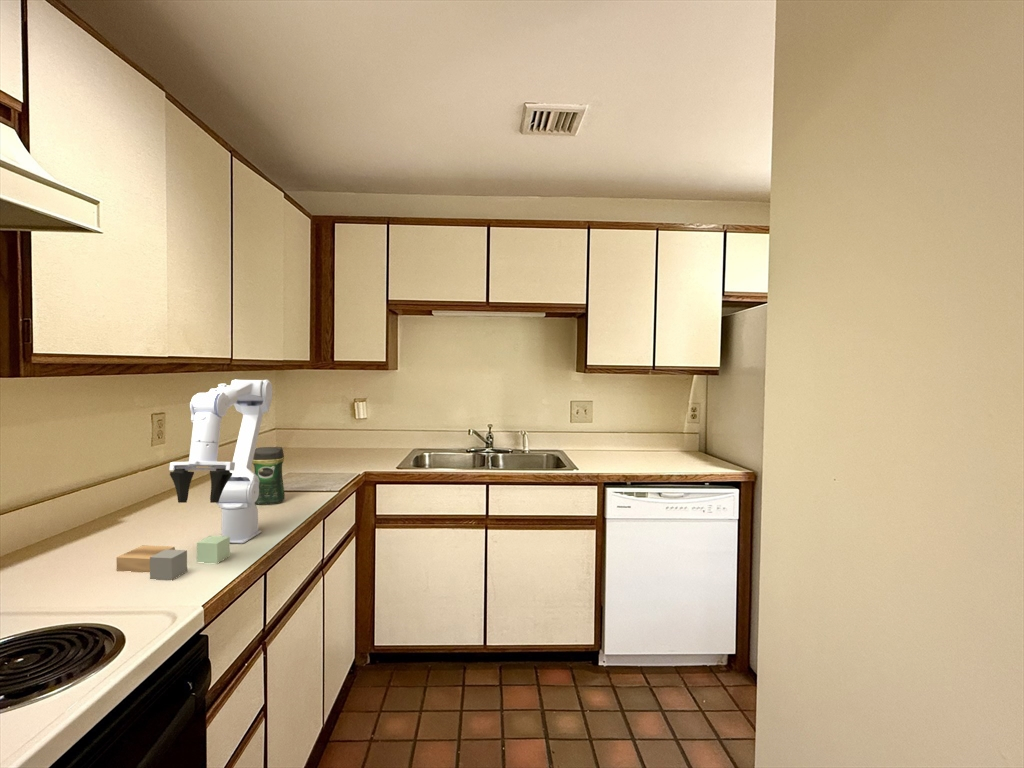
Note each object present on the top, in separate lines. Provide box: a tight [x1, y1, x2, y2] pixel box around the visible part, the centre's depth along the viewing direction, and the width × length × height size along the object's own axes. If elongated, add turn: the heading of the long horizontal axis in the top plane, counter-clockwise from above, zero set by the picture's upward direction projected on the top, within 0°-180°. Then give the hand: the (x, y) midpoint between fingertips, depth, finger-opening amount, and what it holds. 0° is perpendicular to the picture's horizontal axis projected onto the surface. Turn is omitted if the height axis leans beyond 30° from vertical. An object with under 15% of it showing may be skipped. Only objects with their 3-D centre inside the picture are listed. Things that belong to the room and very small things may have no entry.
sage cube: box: [196, 535, 231, 564], centre depth 131 cm, size 5×5×5 cm
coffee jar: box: [252, 446, 286, 505], centre depth 183 cm, size 10×8×19 cm
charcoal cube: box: [149, 549, 188, 581], centre depth 121 cm, size 5×5×5 cm
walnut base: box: [116, 545, 176, 573], centre depth 127 cm, size 8×8×4 cm
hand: (198, 502), depth 125 cm, fingers open, 7 cm apart
